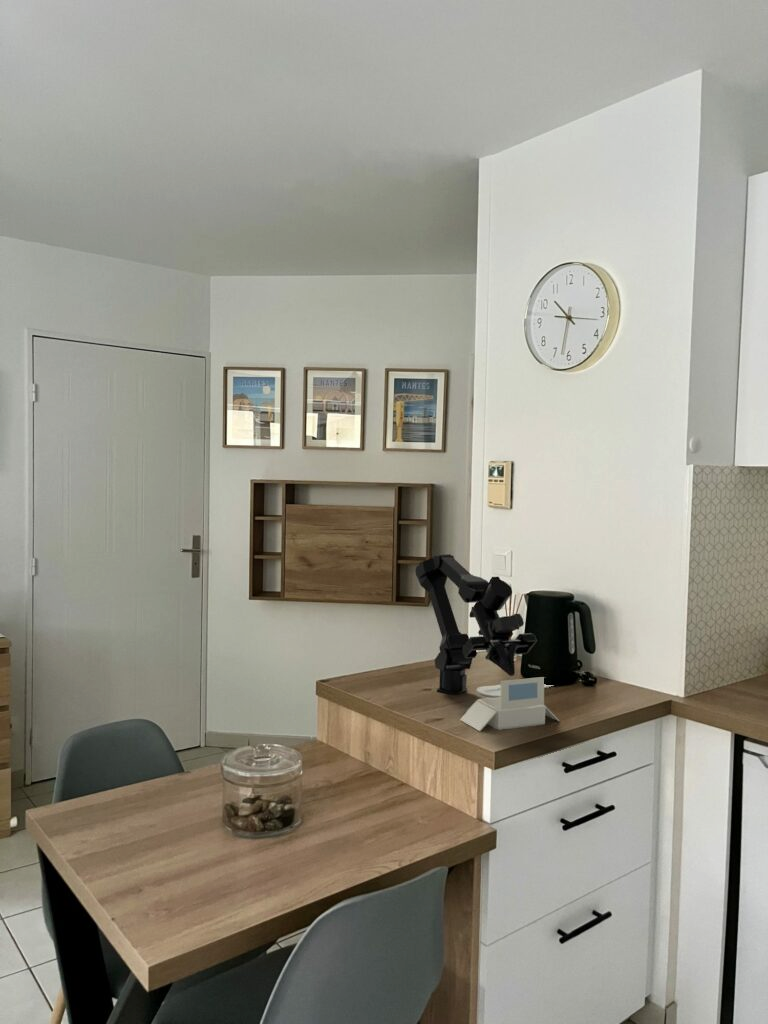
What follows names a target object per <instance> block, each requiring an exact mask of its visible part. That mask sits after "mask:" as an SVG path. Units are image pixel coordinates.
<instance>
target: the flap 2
mask: <svg viewBox="0 0 768 1024" xmlns="http://www.w3.org/2000/svg"><path fill="white" fill-rule="evenodd" d="M545 717H548V718H550V719H552V720H555V721H556V720H557V722H558V721H559V722H560V720H559V718H558V717H557V716H556V715H555V714H554V713H553V712H552V711H551V710H550V709H549V708H548V707H547V706H546V707H545Z"/></svg>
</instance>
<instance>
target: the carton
mask: <svg viewBox="0 0 768 1024" xmlns="http://www.w3.org/2000/svg"><path fill="white" fill-rule="evenodd" d="M476 701H478V702H480V703H482V704H483V705H485V706H487V707H489V708H491V709H493V710H495V711H497V713H496V714H495V715H494V716H493V717H492V719H491V720H490V721H489V722H488V723H487V724H486V725H488V726H490V727H491V728H494V729H495V730H497V729H498V730H497V731H503V729H505V730H511V729H519V728H521V729H522V728H528V727H529V728H530V727H536V726H542V725H543V726H545V724H546V715H545V707H547V706H546V705H545V704H544V705H536V706H527V707H518V708H509V709H501V697H497V698H496V697H487V698H479V699H478V698H477V699H476Z"/></svg>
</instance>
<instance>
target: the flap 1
mask: <svg viewBox="0 0 768 1024" xmlns="http://www.w3.org/2000/svg"><path fill="white" fill-rule="evenodd" d="M473 704H474V705H473ZM473 704H472V705H473V706H472V705H471V706H472V707H471V706H470V707H471V708H470V707H469V708H470V709H469V708H468V709H469V710H468V709H467V710H468V711H467V710H466V712H465V713H464V715H463V716H461V718H460V722H462V723H464V724H466V725H468V726H469V727H472V728H473V729H474V730H477V731H478V732H481V731H482V730H483V729H484V728H485V727H486V726H487V725H488V724H487V723H488V722H489V721H490V720H491V719H492V717H493V716H494V715H495V714H496V713H497V711H495V710H493V709H491V708H489V707H487V706H485V705H483V704H482V703H480V702H478V701H477V700H476V701H475V702H474V703H473Z"/></svg>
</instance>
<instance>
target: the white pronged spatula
mask: <svg viewBox="0 0 768 1024" xmlns="http://www.w3.org/2000/svg"><path fill="white" fill-rule="evenodd" d="M551 686H554V685H546V684H544V690H546V689H550V688H549V687H551ZM545 688H546V689H545ZM551 688H552V687H551ZM476 694H478V695H481V696H484V697H487V698H497V697H501V684H497V685H495V684H494V685H483V686H479V687H477V688H476Z"/></svg>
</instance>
